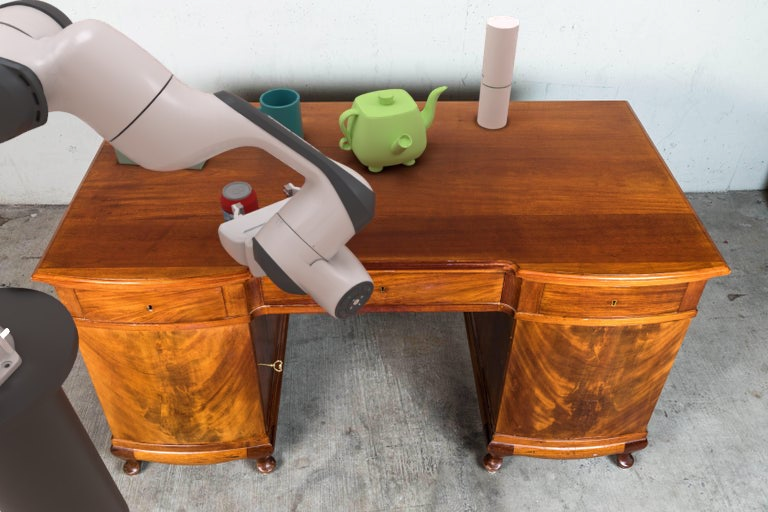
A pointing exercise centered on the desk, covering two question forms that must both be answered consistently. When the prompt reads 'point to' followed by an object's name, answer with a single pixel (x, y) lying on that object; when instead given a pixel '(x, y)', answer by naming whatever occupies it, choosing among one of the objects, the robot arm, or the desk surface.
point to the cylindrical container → (497, 71)
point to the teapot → (387, 127)
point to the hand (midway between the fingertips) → (261, 197)
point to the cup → (283, 108)
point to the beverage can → (238, 199)
